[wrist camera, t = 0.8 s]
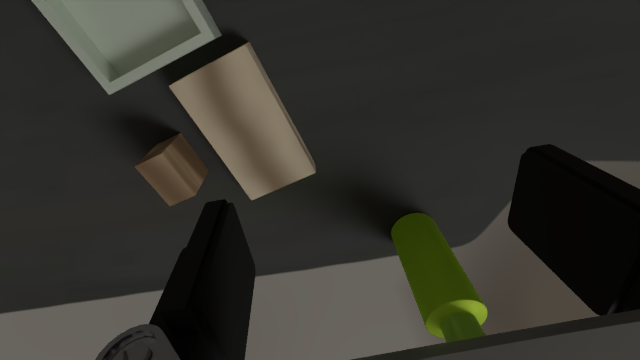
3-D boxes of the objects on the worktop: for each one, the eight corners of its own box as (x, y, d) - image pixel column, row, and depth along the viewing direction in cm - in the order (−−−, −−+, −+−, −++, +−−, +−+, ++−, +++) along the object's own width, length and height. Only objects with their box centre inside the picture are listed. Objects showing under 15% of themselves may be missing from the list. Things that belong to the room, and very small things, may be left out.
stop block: (180, 132, 31) (161, 153, 27) (208, 170, 34) (195, 195, 30) (157, 144, 32) (134, 166, 28) (186, 180, 34) (170, 206, 30)
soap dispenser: (425, 253, 42) (510, 426, 25) (382, 240, 41) (442, 415, 23) (450, 222, 40) (564, 392, 22) (405, 207, 38) (492, 377, 21)
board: (249, 41, 28) (245, 44, 26) (314, 161, 35) (315, 172, 32) (178, 79, 29) (168, 86, 27) (254, 188, 36) (251, 200, 34)
